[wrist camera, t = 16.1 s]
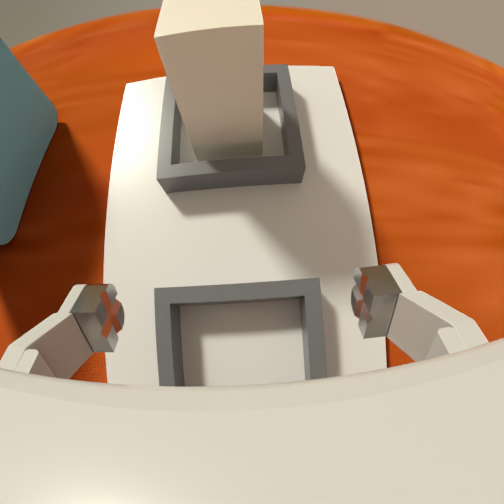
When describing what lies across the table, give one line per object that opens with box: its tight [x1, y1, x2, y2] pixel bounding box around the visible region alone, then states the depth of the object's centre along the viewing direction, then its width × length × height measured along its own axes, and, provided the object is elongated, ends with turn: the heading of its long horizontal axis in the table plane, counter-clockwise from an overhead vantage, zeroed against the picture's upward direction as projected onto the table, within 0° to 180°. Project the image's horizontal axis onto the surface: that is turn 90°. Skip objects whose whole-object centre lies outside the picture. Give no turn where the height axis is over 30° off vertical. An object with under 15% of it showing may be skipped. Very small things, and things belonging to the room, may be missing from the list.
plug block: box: [154, 0, 264, 161], centre depth 15 cm, size 4×4×10 cm
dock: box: [103, 64, 387, 387], centre depth 17 cm, size 16×26×3 cm, turn 4°
